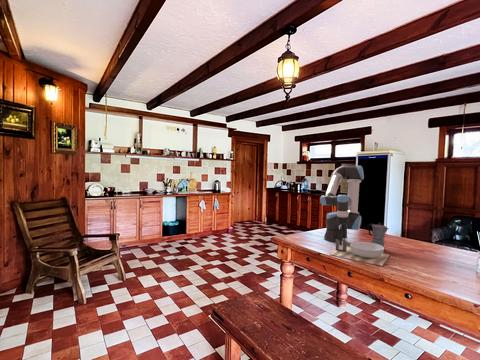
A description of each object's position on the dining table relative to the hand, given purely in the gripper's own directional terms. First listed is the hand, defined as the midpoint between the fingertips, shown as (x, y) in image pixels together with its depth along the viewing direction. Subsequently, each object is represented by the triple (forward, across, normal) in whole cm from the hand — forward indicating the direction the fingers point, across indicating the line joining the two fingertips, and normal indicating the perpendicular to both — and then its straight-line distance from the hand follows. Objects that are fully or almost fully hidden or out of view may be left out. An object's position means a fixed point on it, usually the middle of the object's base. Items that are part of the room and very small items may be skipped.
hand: (342, 248), depth 182 cm
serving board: (+3, 0, -12) cm, 12 cm away
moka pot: (+3, +25, -18) cm, 31 cm away
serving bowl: (+2, 0, -16) cm, 16 cm away
